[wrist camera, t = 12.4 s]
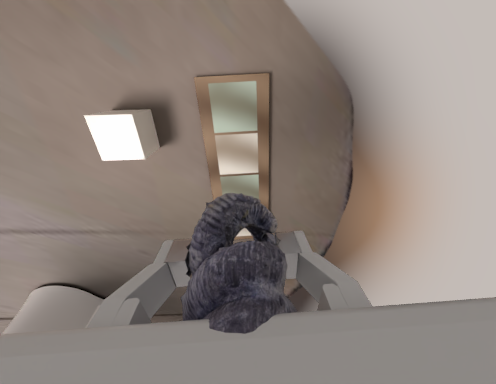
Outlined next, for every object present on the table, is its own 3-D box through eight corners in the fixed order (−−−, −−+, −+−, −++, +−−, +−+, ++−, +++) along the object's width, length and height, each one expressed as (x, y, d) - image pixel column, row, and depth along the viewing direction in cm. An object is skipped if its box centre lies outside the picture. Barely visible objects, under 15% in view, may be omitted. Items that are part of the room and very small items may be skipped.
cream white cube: (160, 147, 24) (145, 159, 21) (124, 148, 24) (102, 160, 20) (150, 109, 22) (131, 114, 18) (111, 110, 22) (83, 115, 18)
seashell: (293, 209, 13) (407, 470, 4) (244, 255, 15) (250, 501, 6) (228, 163, 11) (186, 445, 2) (182, 222, 13) (65, 500, 4)
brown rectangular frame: (267, 234, 32) (268, 237, 32) (220, 237, 32) (219, 240, 31) (268, 73, 21) (269, 73, 20) (195, 77, 21) (193, 77, 20)
